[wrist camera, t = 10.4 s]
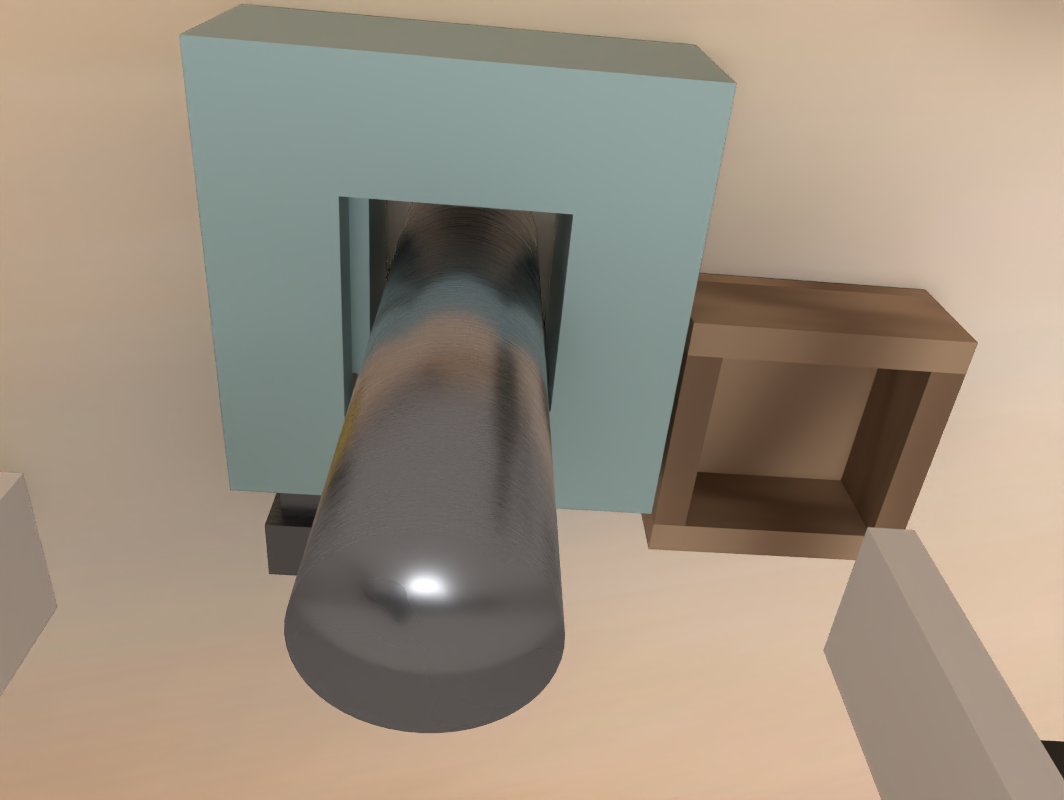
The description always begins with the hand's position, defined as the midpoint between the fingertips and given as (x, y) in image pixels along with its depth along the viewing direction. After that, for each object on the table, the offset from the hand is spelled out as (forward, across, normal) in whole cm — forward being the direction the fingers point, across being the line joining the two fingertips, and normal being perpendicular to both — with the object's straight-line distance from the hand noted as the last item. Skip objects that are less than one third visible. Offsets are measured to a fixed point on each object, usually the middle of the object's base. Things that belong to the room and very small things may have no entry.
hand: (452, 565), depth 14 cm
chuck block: (+14, -1, 0) cm, 14 cm away
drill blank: (+14, 0, 0) cm, 14 cm away
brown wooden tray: (+14, +10, -4) cm, 18 cm away
